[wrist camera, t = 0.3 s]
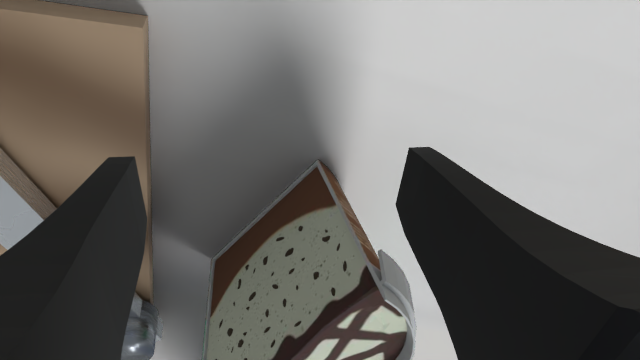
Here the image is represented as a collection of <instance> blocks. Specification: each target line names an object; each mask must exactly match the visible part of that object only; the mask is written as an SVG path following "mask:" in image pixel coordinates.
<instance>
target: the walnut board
mask: <svg viewBox="0 0 640 360" xmlns="http://www.w3.org/2000/svg"><path fill="white" fill-rule="evenodd" d="M0 148H1V149H2V150H3V151H4V152H5V153H6V154H7V155H8V157H9V158H10V159H11V160H12V161H13V162H14V163H15V164H16V165H17V166H18V167H19V168H20V169H21V170H22V171H23V173H24V174H25V175H26V176H27V177H28V178H29V179H30V180H31V181H32V182H33V183H34V184H35V185H36V186H37V188H38V189H39V190H40V191H41V192H42V193H43V194H44V195H45V196H46V197H47V198H48V199H49V200H50V201H51V203H52V204H53V205H54V206H55V207H56V208H58V207H59V206H60V205H61V204H62V203H63V202H64V201H65V200H66V199H67V198H68V197H69V196H70V195H72V194H73V193H74V192H75V191H76V190H77V189H78V188H79V187H80V186H81V185H82V184H83V182H84V181H85V180H86V179H87V178H88V177H89V176H90V175H91V174H92V173H93V172H94V171H95V170H96V169H97V168H98V167H99V166H100V165H101V164H102V163H103V162H104V161H105V160H106V159H107V158H108V157H131V156H135V160H136V165H137V170H138V175H139V179H140V184H141V189H142V194H143V199H144V204H145V209H146V214H147V229H146V240H145V249H144V256H143V260H142V264H141V269H140V273H139V277H138V281H137V285H136V290H135V292H136V293H137V295H138V296H139V297H140V298H141V299H142V300H144V301H147V302H149V303H151V304H153V254H152V203H151V152H150V101H149V50H148V16H145V15H138V14H131V13H124V12H117V11H110V10H103V9H96V8H89V7H82V6H75V5H68V4H61V3H54V2H47V1H40V0H0ZM6 251H7V249H6V248H5V247H3V246H2V245H1V244H0V255H2V254H3V253H4V252H6Z"/></svg>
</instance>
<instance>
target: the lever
mask: <svg viewBox="0 0 640 360" xmlns="http://www.w3.org/2000/svg"><path fill="white" fill-rule="evenodd" d="M56 209H57V208H56V207H55V206H54V205H53V204H52V203H51V201H50V200H49V199H48V198H47V197H46V196H45V195H44V194H43V193H42V192H41V191H40V190H39V189H38V188H37V186H36V185H35V184H34V183H33V182H32V181H31V180H30V179H29V178H28V177H27V176H26V175H25V174H24V173H23V171H22V170H21V169H20V168H19V167H18V166H17V165H16V164H15V163H14V162H13V161H12V160H11V159H10V158H9V157H8V155H7V154H6V153H5V152H4V151H3V150H2V149H1V148H0V244H1V245H2V246H3V247H5V248H6V249H7V250H8V249H10V248H11V247H12V246H14V245H15V244H16V243H17V242H19V241H20V240H21V239H23V238H24V237H25V236H26V235H28V234H29V233H30V232H31V231H32V230H33V229H34V228H36V227H37V226H38V225H39V224H40V223H41V222H42V221H44V220H45V219H46V218H47V217H48V216H49V215H50V214H52V213H53V212H54V211H55V210H56ZM158 316H159V313H158V310H157V308H156V307H155V306H154V305H153V304H151V303H149V302H147V301H144V300H142V299H141V298H140V297H139V296H138V295H137V293H136V292H135V294H134V298H133V302H132V306H131V310H130V314H129V319H128V323H127V327H126V331H125V336H124V341H123V347H122V354H121V360H149V359H151V357H152V356H153V354H154V348H155V342H156V341H159V340H161V339H162V330H163V321H162V320H161V319H160V318H159V317H158Z"/></svg>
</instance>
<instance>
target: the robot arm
mask: <svg viewBox="0 0 640 360" xmlns="http://www.w3.org/2000/svg"><path fill="white" fill-rule="evenodd" d="M396 207H397V211H398V214H399V217H400V221H401V224H402V227H403V230H404V233H405V236H406V238H407V240H408V242H409V244H410V246H411V248H412V251H413V253H414V255H415V257H416V259H417V261H418V263H419V265H420V267H421V269H422V271H423V273H424V275H425V277H426V279H427V282H428V284H429V286H430V288H431V290H432V292H433V294H434V296H435V298H436V300H437V303H438V305H439V307H440V309H441V312H442V314H443V317H444V320H445V323H446V326H447V328H448V331H449V334H450V337H451V340H452V342H453V345H454V348H455V351H456V354H457V358H458V360H640V258H639V257H636V256H633V255H630V254H627V253H624V252H622V251H619V250H616V249H614V248H611V247H608V246H606V245H603V244H601V243H598V242H596V241H594V240H591V239H589V238H586V237H584V236H582V235H579V234H577V233H575V232H572V231H570V230H568V229H566V228H564V227H562V226H559V225H557V224H556V223H554V222H552V221H550V220H548V219H546V218H544V217H542V216H540V215H538V214H536V213H534V212H532V211H530V210H528V209H527V208H525V207H523V206H521V205H520V204H518V203H516V202H515V201H513V200H511V199H510V198H508V197H506V196H504V195H503V194H501V193H500V192H498V191H496V190H495V189H493V188H492V187H490V186H489V185H487V184H486V183H484V182H483V181H481V180H480V179H478V178H477V177H475V176H474V175H472V174H471V173H469V172H468V171H466V170H465V169H463V168H462V167H460V166H459V165H457V164H456V163H454V162H453V161H451V160H450V159H448V158H447V157H445V156H444V155H442V154H441V153H439V152H437V151H436V150H434V149H432V148H430V147H416V148H409V150H408V155H407V159H406V163H405V167H404V171H403V176H402V180H401V184H400V188H399V192H398V197H397V201H396ZM146 229H147V214H146V209H145V204H144V199H143V194H142V189H141V184H140V179H139V175H138V170H137V165H136V160H135V156H131V157H108V158H107V159H106V160H105V161H104V162H103V163H102V164H101V165H100V166H99V167H98V168H97V169H96V170H95V171H94V172H93V173H92V174H91V175H90V176H89V177H88V178H87V179H86V180H85V181H84V182H83V184H82V185H81V186H80V187H79V188H78V189H77V190H76V191H75V192H74V193H73V194H72V195H70V196H69V197H68V198H67V199H66V200H65V201H64V202H63V203H62V204H61V205H60V206H59V207H58V208H57V209H56V210H55V211H54V212H53V213H52V214H50V215H49V216H48V217H47V218H46V219H45V220H44V221H42V222H41V223H40V224H39V225H38V226H37V227H36V228H34V229H33V230H32V231H31V232H30V233H29V234H28V235H26V236H25V237H24V238H23V239H21V240H20V241H19V242H17V243H16V244H15V245H14V246H12V247H11V248H10V249H8V250H7V251H6V252H4V253H3V254H2V255H0V360H121V354H122V347H123V341H124V336H125V331H126V327H127V323H128V319H129V314H130V310H131V306H132V302H133V298H134V294H135V290H136V285H137V281H138V277H139V273H140V269H141V264H142V260H143V256H144V249H145V240H146Z"/></svg>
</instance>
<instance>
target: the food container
mask: <svg viewBox="0 0 640 360" xmlns="http://www.w3.org/2000/svg"><path fill="white" fill-rule="evenodd" d="M378 256H379V258H378V257H377V255H376V253H375V251H374V249H373V247H372V245H371V243H370V241H369V240H368V238H367V236H366V234H365V232H364V230H363V228H362V226H361V225H360V223H359V221H358V219H357V217H356V215H355V213H354V211H353V209H352V208H351V206H350V204H349V202H348V200H347V198H346V196H345V194H344V193H343V191H342V189H341V187H340V185H339V183H338V181H337V179H336V177H335V176H334V175H333V173H332V172H331V171H330V170H329V168H328V167H326V166H325V165H324V164H323V163H322V162H321V161H319V160H317V161H316V162H315V163H314V164H313V165H312V166H310V167H309V168H308V169H307V170H306V171H305V172H304V173H303V174H302V175H301V176H300V177H299V178H298V179H297V180H296V181H294V182H293V183H292V184H291V185H290V186H289V187H288V188H287V189H286V190H285V191H284V192H283V193H282V194H281V195H279V196H278V197H277V198H276V199H275V200H274V201H273V202H272V203H271V204H270V205H269V206H268V207H267V208H266V209H265V210H263V211H262V212H261V213H260V214H259V215H258V216H257V217H256V218H255V219H254V220H253V221H252V222H251V223H250V224H249V225H247V226H246V227H245V228H244V229H243V230H242V231H241V232H240V233H239V234H238V235H237V236H236V237H235V238H234V239H232V240H231V241H230V242H229V243H228V244H227V245H226V246H225V247H224V248H223V249H222V250H221V251H220V252H219V253H218V254H216V255H215V256H214V257H213V258H212V259H211V269H210V279H209V290H208V300H207V311H206V321H205V332H204V342H203V353H202V360H412V358H413V355H414V351H415V342H416V341H415V336H416V321H415V314H414V309H413V303H412V297H411V292H410V286H409V283H408V281H407V279H406V276H405V274H404V272H403V271H402V269H401V268H400V267H399V266H398V265H397V263H396V262H395V261H394V260H393V259H392V258H391V257H390V256H388V255H387V254H386V253H385V252H383V251H382V250H379V251H378Z"/></svg>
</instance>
